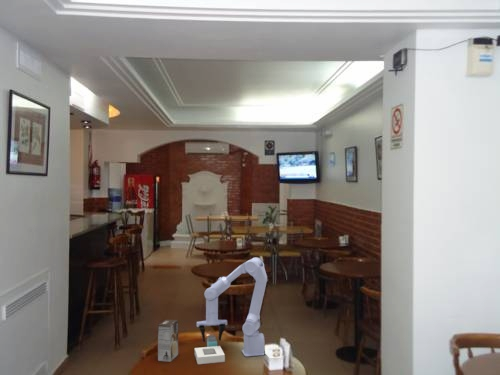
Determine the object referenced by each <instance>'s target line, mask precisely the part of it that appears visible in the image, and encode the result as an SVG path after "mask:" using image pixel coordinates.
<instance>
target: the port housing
mask: <svg viewBox="0 0 500 375" xmlns="http://www.w3.org/2000/svg"><path fill="white" fill-rule="evenodd" d="M193 352H194V358H195V360H196V363H197V365H204V364H205V365H206V364H217V363H226V356H225V355H226V354H225V353H224V350H223V349H222V347H221V345H217V346H212V347H207V346H204V347H194V351H193Z"/></svg>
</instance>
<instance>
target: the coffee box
mask: <svg viewBox="0 0 500 375" xmlns="http://www.w3.org/2000/svg"><path fill="white" fill-rule="evenodd" d="M178 355H179V320H178V319H164V320H163V321H162V322H160V323H159V324H158V325H157V361H158V362H170V363H171V362H172V361H173V360H174V359H175V358H176V357H177V356H178Z"/></svg>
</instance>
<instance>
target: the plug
mask: <svg viewBox="0 0 500 375" xmlns="http://www.w3.org/2000/svg"><path fill="white" fill-rule="evenodd" d="M212 346H218V340H217V337H216V335H215V334H212V335H211V334H209V335H207V338H206V347H212Z"/></svg>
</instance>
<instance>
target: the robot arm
mask: <svg viewBox="0 0 500 375" xmlns="http://www.w3.org/2000/svg"><path fill="white" fill-rule="evenodd" d="M266 272H267V271H266V269H265V264H264V262H263V261H262V259H261V258H259V257H257V256H256V257H252V258H251V259H249V260H247V261H245V262H243V263H242V264H240V265H239V266H238V267H236V268H235V269H234V270H233V271H232V272H231V273H229V274H228V275H227V276H220V277H219V278H218V279H217V280H216V282H214V283H211V284H210V287H208V288H206V289H205V291H204V292H203V293H204V298H205V320H200V321H196V327H197V328H199V330H200V334H201V337H202V342H203V343H205V342H206V337H205V336H206V328H205V327H210V326H218V341H220V342H221V341H222V338H223V337H222V336H223V333H224V330H225V329H226V326H227V325H228V320H227V319H219V296H220V295H222V293H224V292H225V291H226V290H228V288H230V287H231V283H232V282H233V281H235V280H236V279H237V278H238V277H239V276H240V275H242V274H249V275H250V276H251V277H253V279H254V280H255V283H254V288H253V292H252V297H251V302H250V306H249V310H248V314H247V317H246V319H245V322H244V323H243V325H242V327H241V328H242V332H243V349H241V350H240V351H241V352H242V354H243V356H244V357H245V358H246V357H256V356H257V357H258V356H265V355H264V346H265V345H266V344H265V334H264V333H262V332H260V331H259V329H260V328H261V320H260V318H261V316H260V314H261V309H262V304H263V299H264V296H265V291H266V286H267V283H268V275H267V273H266Z"/></svg>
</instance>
